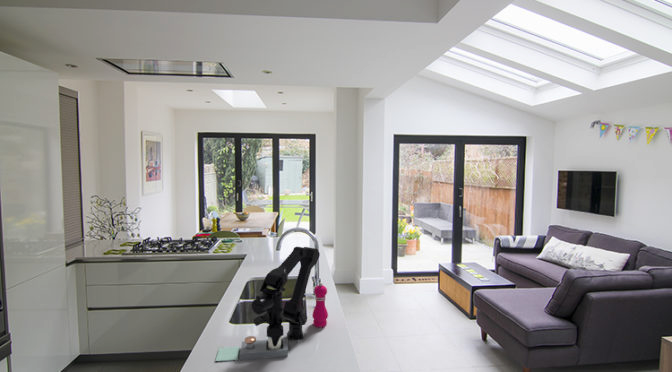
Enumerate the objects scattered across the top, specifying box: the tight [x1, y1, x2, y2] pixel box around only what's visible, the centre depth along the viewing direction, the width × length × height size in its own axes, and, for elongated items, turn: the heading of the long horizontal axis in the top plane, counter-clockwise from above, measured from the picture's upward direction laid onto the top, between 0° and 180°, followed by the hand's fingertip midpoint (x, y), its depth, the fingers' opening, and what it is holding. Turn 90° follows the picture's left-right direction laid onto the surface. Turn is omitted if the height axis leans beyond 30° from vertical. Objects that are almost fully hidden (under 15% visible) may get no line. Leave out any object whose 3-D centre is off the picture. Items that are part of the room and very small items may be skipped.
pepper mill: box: [312, 282, 329, 328], centre depth 163 cm, size 7×7×20 cm
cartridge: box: [267, 336, 282, 350], centre depth 140 cm, size 5×5×8 cm
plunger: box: [244, 335, 257, 349], centre depth 139 cm, size 4×4×6 cm
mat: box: [214, 346, 241, 363], centre depth 137 cm, size 9×8×1 cm
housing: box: [239, 337, 289, 361], centre depth 140 cm, size 9×18×2 cm, turn 100°
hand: (274, 342), depth 140 cm, fingers closed on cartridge, 5 cm apart
